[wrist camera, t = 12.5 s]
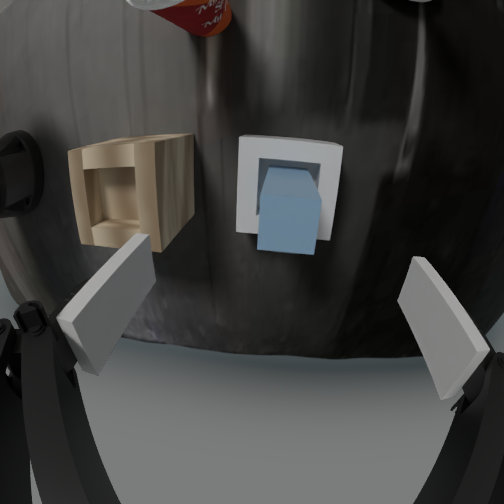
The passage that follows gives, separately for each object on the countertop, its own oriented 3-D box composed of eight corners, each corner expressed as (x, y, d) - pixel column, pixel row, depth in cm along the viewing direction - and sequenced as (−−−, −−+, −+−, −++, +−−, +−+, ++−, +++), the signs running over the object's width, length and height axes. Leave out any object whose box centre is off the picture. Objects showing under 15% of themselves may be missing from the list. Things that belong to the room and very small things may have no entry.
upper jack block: (126, 210, 35) (81, 243, 25) (121, 137, 30) (67, 151, 21) (194, 213, 34) (161, 252, 25) (193, 133, 29) (154, 142, 20)
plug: (266, 205, 30) (256, 257, 20) (269, 164, 28) (260, 194, 18) (303, 209, 30) (312, 262, 19) (307, 168, 28) (321, 200, 17)
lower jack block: (242, 217, 33) (236, 231, 29) (245, 134, 29) (239, 136, 25) (324, 224, 33) (329, 240, 29) (334, 142, 28) (343, 146, 24)
